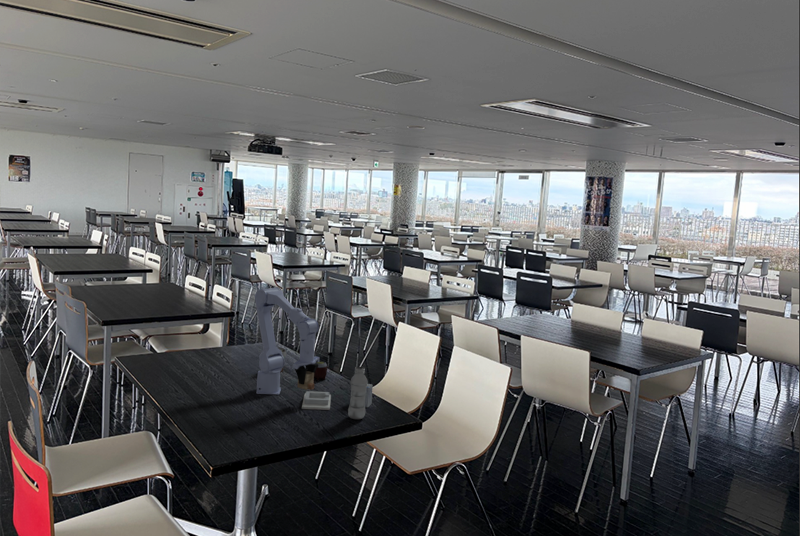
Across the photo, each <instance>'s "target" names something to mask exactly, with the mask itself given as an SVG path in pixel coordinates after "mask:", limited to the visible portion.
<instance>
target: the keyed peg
mask: <svg viewBox="0 0 800 536" xmlns="http://www.w3.org/2000/svg"><path fill="white" fill-rule="evenodd" d="M314 380H315V379H314V373H313V372H309V371H307V372H306V376H305V382H304V384H303V385H302V384H299V381H298V380H297V388H299V389H302V390H306V391H308V390H309V391H312V390H314V389H315V383H314Z"/></svg>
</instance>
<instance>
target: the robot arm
mask: <svg viewBox="0 0 800 536" xmlns="http://www.w3.org/2000/svg"><path fill="white" fill-rule="evenodd" d="M254 300H255V307H256V308H255V309H256V314H257V320H258V325H259V331H260V336H261V342H262V348H263V349H262V351H261V352H260V354H259V355H258V357H259V362H258V365H259V369H260V370H258V371H257V377H256V391H255V392H256V393H255V394H257V395H274V396H275V395H277V396H278V395H280V393H281V390H282V387H280V386H281V373H280V371H282V368H283V367H285V365H286V360H285V359H286V358H285V359H284V357H283V355H282V351H281V350H280V349H278V347H277V343H276V337H275V331H274V325H273V321H272V320H273V319H272V315H271V311H272V309H273V308H274V307H275V306H278V307H279V308H280V309H281V310H283V311H284V313H286V314H288V319H289V320H290V321H291V322H292V324H294V325H295V326H296V327H297V331H298V333H299V338H300V344H299V345H300V346H299V359H298V360H297V361H296V362H294V363H293V364H292V369H294V371H295V373H296V375H297V382H298V381H299V384H302V385H303V384H304V382H305V376H306V372H307V371H309V372H313V373H315V371H316V369H317V367H318V364H317V363H316V362H319V361H320V356H315V357H314V352H315V345H316V343H315V342H316V334H317V333H318V332H319V329H320V327H319V323H318V321H317V320H316V319H315V318H311V317H309V316H307V315H306V314H305V313H304V311H303V309H302V308H299V307H294V306H293V304H291V302H290V301H289V300H288V299H287V298H286V297H285V295H284V291H282V290H281V289H280V288H279V287H276V286H274V287H269V288H260V289H258V290H256V292H255V294H254ZM269 355H273V356H269ZM283 369H284V368H283Z"/></svg>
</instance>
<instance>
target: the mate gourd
mask: <svg viewBox="0 0 800 536" xmlns="http://www.w3.org/2000/svg"><path fill="white" fill-rule="evenodd" d="M315 356H316V352H315V351H314V357H315ZM316 363H317V364H318V367H317V369H316V371H315V373H314V380H316V382H319V381H320V380H322V381H326V380H327V379H326V377H327V373H328V364H327V362H326V361H324V360H319V362H316Z"/></svg>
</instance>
